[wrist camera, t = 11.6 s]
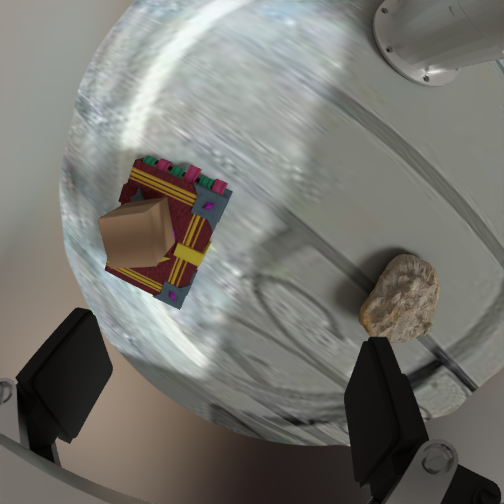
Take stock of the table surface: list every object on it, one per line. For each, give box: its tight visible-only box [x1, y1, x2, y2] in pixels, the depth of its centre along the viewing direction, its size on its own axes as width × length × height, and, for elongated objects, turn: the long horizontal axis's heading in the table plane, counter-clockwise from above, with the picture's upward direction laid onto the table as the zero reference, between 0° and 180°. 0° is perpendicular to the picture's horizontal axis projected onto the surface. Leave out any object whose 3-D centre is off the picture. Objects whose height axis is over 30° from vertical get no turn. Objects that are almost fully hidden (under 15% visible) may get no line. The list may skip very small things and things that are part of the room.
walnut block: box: [98, 197, 175, 269], centre depth 27 cm, size 5×5×6 cm
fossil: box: [359, 254, 440, 343], centre depth 34 cm, size 12×8×10 cm
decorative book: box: [105, 155, 232, 310], centre depth 33 cm, size 11×16×5 cm
